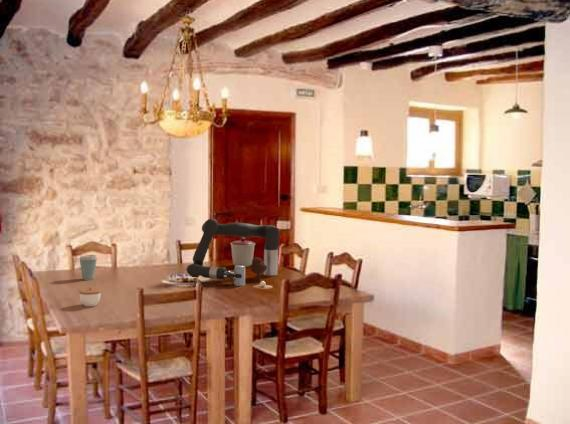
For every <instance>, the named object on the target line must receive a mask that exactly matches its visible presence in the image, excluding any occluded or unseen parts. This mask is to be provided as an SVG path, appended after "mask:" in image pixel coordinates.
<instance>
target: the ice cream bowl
mask: <svg viewBox="0 0 570 424" xmlns="http://www.w3.org/2000/svg"><path fill="white" fill-rule="evenodd" d="M249 267H250V270H251V272H252V273H254V275H255V274H256V278H254V280H255V281H263V278H261V277H260V276H261V274H264V272H265V271H266V269H267V265H264V260H262V258H260V257H257V256H256V257H253V260H252V264H251V265H250V266H249Z"/></svg>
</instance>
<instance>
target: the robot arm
mask: <svg viewBox="0 0 570 424" xmlns="http://www.w3.org/2000/svg"><path fill="white" fill-rule="evenodd" d="M201 231H202V236H201V238H200V241H199V242H198V245H197V246H196V249H195V251H194V254H193V257H192V262H193V263H192V264H188V265H187V266H186V272H187V273H188V275H189V276H190V277H191V276H192V277H197V278H196V279H198V278H199V277H202V278H205V279H214V280H221V281H223V280H224V281H225V280H226V279H233V280H234V278H235V277H236V278H242V275H241V274H236V275H235V274H234V269H232V270H228V269H227V268H226V267H224V266H222V267H220V266H204V261H205V259H206V255H207V253H208V251H209V247H210V244H211V242H212V240H213V238H214V236H221V235H223V236H228V237H229V236H231V237H240V238H242V237H244V238H250V237H251V238H252V237H260V238H261V237H262V238H265V244H264V246H263V249H264V251H263V261H264V265H267V269H266V271H265V272H263V275H264V276H270V277H271V276H278V265H279V263H278V261H279V260H278V259H279V258H278V257H279V254H278V253H279V246H280V234H281V233H280V229H279V228H278V227H277V226H275V225H272V224H265V225H260V224H259V225H258V224H252V223H245V222H230V223H218V221H217V220H216V219H215V218H209V219H207V220H205V221H204V223H203V224H202V226H201ZM246 275H247V273H246V272H245V277H246ZM192 277H191V278H192Z"/></svg>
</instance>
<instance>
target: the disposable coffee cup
mask: <svg viewBox="0 0 570 424" xmlns="http://www.w3.org/2000/svg"><path fill="white" fill-rule="evenodd" d="M97 257H98V256H97V255H96V254H86V255H81V256H80V257H79V264H80V270H81V277H82V279H83V280H85V281H86V280H87V281H90V280H91V281H92V280H94V279H95V273H96V267H97V260H98V258H97Z"/></svg>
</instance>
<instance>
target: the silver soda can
mask: <svg viewBox="0 0 570 424" xmlns="http://www.w3.org/2000/svg"><path fill="white" fill-rule="evenodd" d="M233 270H234V274H235V275H236V274H241V275H242V278H236V277H235V278H233V280H234V282H233V285H234V286H237V287H243V286H246V276H245V273H246V267H245V266H243V265H237V266H235V265H234V269H233Z"/></svg>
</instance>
